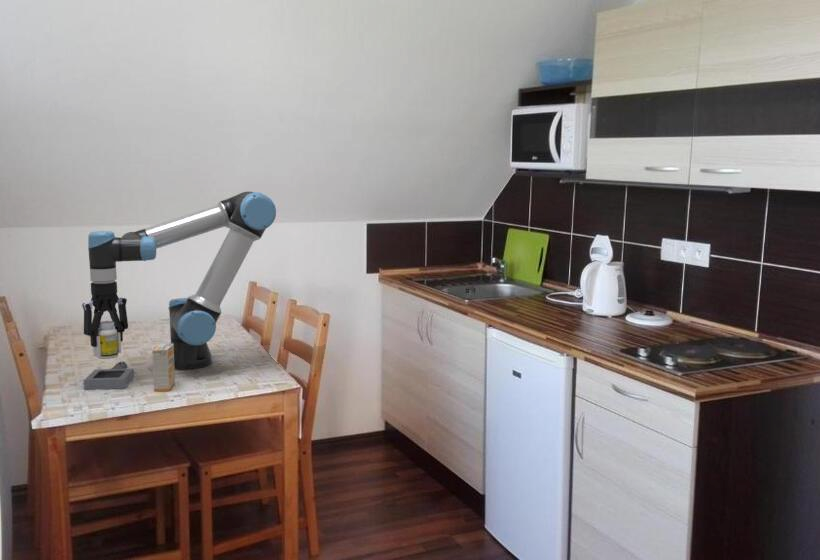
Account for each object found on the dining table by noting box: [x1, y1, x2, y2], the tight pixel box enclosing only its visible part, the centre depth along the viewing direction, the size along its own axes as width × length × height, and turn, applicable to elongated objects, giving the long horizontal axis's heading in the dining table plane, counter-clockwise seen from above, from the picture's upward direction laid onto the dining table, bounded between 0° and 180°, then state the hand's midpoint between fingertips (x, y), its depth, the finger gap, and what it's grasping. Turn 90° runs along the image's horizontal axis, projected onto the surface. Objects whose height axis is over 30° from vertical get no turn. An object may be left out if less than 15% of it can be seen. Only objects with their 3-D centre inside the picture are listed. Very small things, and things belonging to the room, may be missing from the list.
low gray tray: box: [83, 361, 135, 391], centre depth 240 cm, size 22×12×3 cm, turn 7°
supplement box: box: [151, 343, 176, 392], centre depth 230 cm, size 8×5×13 cm, turn 5°
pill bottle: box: [97, 320, 119, 360], centre depth 233 cm, size 6×6×11 cm
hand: (107, 354), depth 234 cm, fingers closed on pill bottle, 6 cm apart
